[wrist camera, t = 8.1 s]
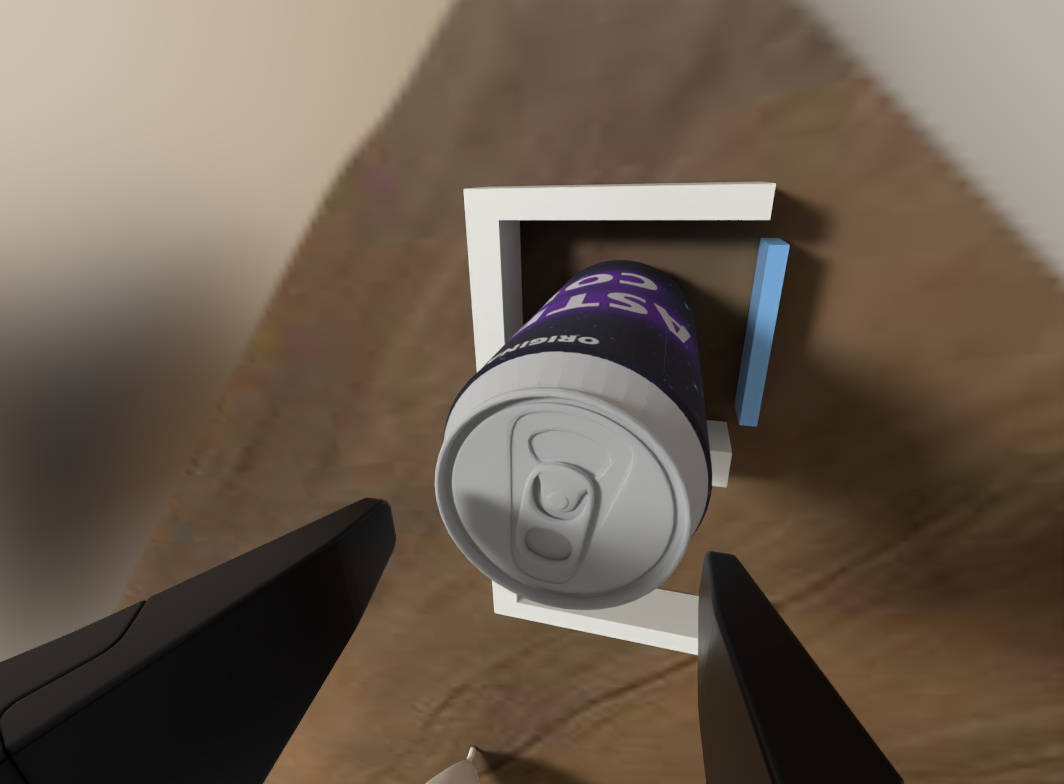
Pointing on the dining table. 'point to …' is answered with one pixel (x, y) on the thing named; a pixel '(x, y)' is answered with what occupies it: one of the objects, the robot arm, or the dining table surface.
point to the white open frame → (501, 317)
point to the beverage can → (583, 445)
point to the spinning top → (458, 772)
